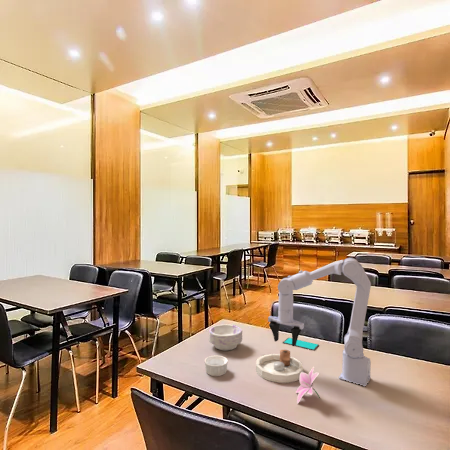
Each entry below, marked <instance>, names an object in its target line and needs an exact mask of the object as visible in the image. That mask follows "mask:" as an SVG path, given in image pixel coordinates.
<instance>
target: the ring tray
mask: <svg viewBox="0 0 450 450" xmlns="http://www.w3.org/2000/svg"><path fill="white" fill-rule="evenodd" d="M255 372H256V374H257V375H258V376H260V378H262V379H264V380H266V381H269V382H273V383H279V384H290V383H294V382H297V381H299V377H300V373H301V372H303V373H304V366H303V363H302V362H301V361H300V360H299V359H297V358H295V357H294V356H291V355H290V366H284V363H283V362H280V353H270V354H265V355H261V356H259V357H258V358H257V359H256V360H255Z"/></svg>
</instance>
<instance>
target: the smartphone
mask: <svg viewBox="0 0 450 450" xmlns="http://www.w3.org/2000/svg"><path fill="white" fill-rule="evenodd" d="M282 344H285V345H289V346H292V337H287V338H286V339H285V340H283V342H282ZM319 346H320V345H319V344H318V343H314V342H309V341H306V340H300V339H297V342H296V345H295V346H294V347H297V348H300V349H301V348H302V349H304V350H305V349H306V350H308V349H309V351H316V349H317V348H318V347H319Z"/></svg>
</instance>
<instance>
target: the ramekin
mask: <svg viewBox="0 0 450 450" xmlns="http://www.w3.org/2000/svg"><path fill="white" fill-rule="evenodd" d="M228 361H229V360H228V358H227V357H225V356H222V355H210V356H207V357H206V358H204V365H205V366H204V369H205V372H206V374H208V376H212V377H220V376H224V375H225V374H226V373H227V369H228V363H229V362H228Z"/></svg>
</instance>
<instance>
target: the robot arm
mask: <svg viewBox="0 0 450 450" xmlns="http://www.w3.org/2000/svg"><path fill="white" fill-rule="evenodd" d="M333 274H335V275H338V276H342V274H343V276H344V277H346V278H348V279H350V280H351V281H352V282H353V284H354V285H355V286H356V288H355V293H354V299H353V303H352V310H351V316H350V321H349V326H348V330H347V333H346V334H345V335H344V337H343V342H344V347H343V348H344V349H343V350H342V370H341V373H340V375H339V376H338V379H339V380H342V381H345V380H346V381H345V382H348V381H349V383H351V382H353V383H352V384H355V383H356V385H358V384H360V385H359V386H361V385H363V386H362V387H365V386H366V385H367V386H368V384H369V382H370V381H371V379H370V378H371V368H372V367H371V363H372V361H371V358H370V357H367V356H366V355H365V354H364V346H363V337H364V336H363V333H364V332H363V330H364V327H365V321H366V314H367V309H368V305H369V299H370V298H369V297H370V293H371V287H372V283H371V281H370V278H369V277H368V275H367V273H366V270H365V269H364V267H363V264H361V263H360V262H359V261H358V260H357V259H356V258H353V257H347V258H345V259H341V260H337V261H334V262H331V263H329V264H326V265H323V266H321V267H319V268H317V269H315V270H313V271H308V270H304V271H303V269H302V270H299V271H298V273H296V274H293V275H288V276H287V277H283V278H282V279H281V280H280V281H279V282H278V284H277V290H278V311H277V313H278V316H274V315H273V316H272V315H269V316H268V317H267V322H269V324H268V326H269V328H270V330H271V333H272V336H273V340H274V342H279V335H280V326H281V325H283V326H287V327H292V328H291V329H290V331H291V338H292V345H291V346H292V347H296V346H295V345H296V342H297V340H299V339H298V338H299V336H300V333H301V332H302V330H303V329H304V328H305V323H304V322H301V321H298V320H295V319H294V291H298V290H301V289H302V288H306V287H308V286H311V285H312V284H313V281H316V280H318V279H320V278H323V277H326V276H329V275H333ZM368 381H369V382H368ZM367 383H368V384H367ZM367 386H366V387H367Z"/></svg>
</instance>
